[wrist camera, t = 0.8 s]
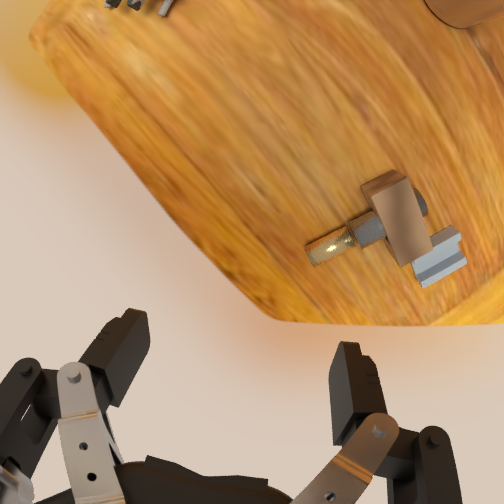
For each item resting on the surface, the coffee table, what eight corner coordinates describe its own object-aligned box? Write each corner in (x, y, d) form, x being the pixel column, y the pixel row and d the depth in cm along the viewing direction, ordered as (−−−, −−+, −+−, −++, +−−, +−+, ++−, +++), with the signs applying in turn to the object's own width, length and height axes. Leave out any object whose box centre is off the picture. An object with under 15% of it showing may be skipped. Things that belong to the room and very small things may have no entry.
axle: (410, 185, 35) (421, 192, 32) (419, 210, 37) (431, 219, 33) (346, 218, 38) (352, 228, 35) (357, 242, 40) (363, 254, 36)
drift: (344, 222, 39) (348, 230, 36) (353, 241, 40) (357, 250, 37) (304, 243, 40) (305, 251, 38) (314, 261, 41) (315, 270, 39)
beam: (392, 169, 35) (407, 177, 30) (418, 234, 38) (433, 249, 33) (360, 186, 36) (370, 196, 31) (388, 250, 39) (400, 267, 34)
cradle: (451, 225, 37) (460, 232, 34) (458, 255, 38) (467, 263, 36) (406, 249, 39) (413, 258, 36) (416, 278, 41) (422, 288, 38)
